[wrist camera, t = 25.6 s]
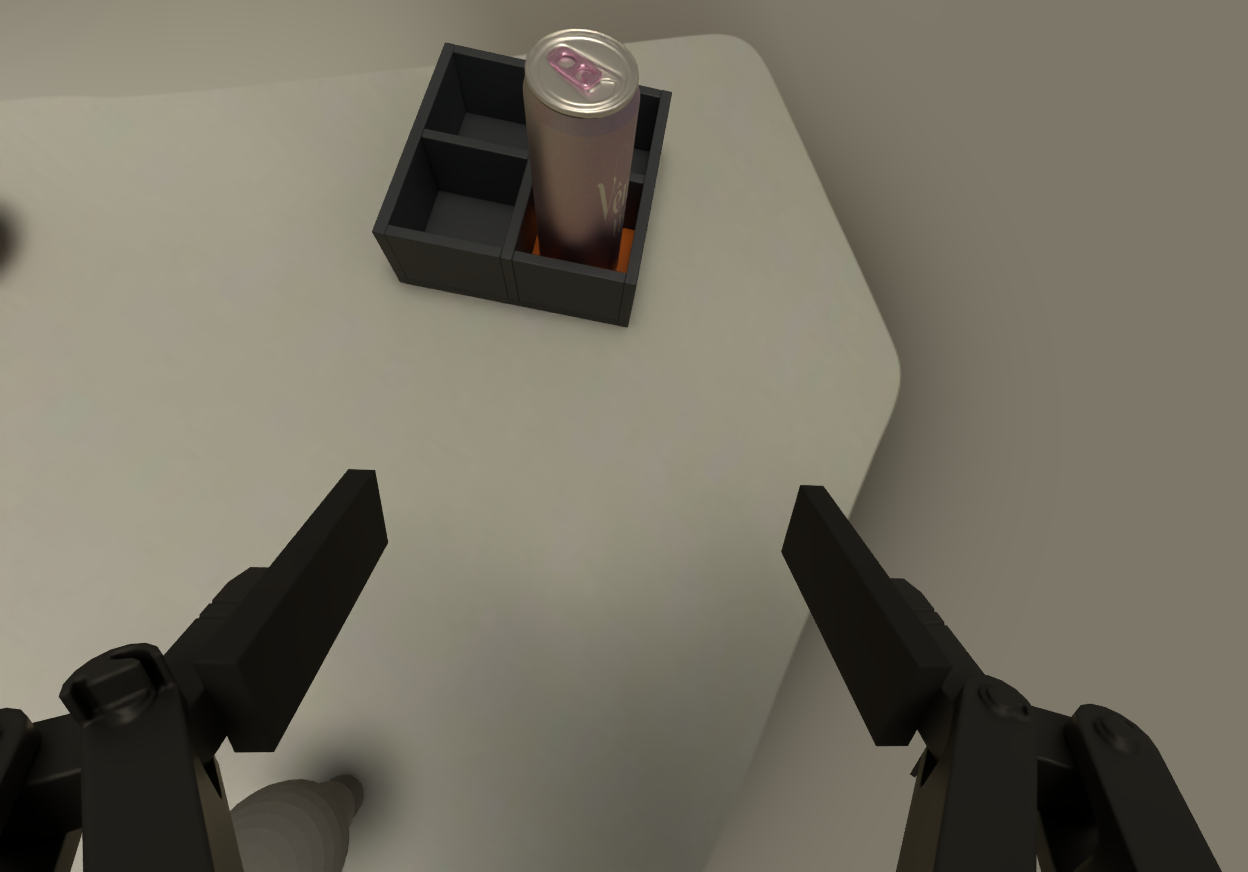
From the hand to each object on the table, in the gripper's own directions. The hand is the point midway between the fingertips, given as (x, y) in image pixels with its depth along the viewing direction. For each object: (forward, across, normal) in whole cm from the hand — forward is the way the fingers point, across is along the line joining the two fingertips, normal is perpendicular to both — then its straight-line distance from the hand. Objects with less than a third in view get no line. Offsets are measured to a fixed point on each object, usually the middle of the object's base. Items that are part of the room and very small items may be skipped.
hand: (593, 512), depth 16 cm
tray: (+32, -5, +6) cm, 33 cm away
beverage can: (+28, -1, +3) cm, 28 cm away
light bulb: (+4, -13, -22) cm, 26 cm away
